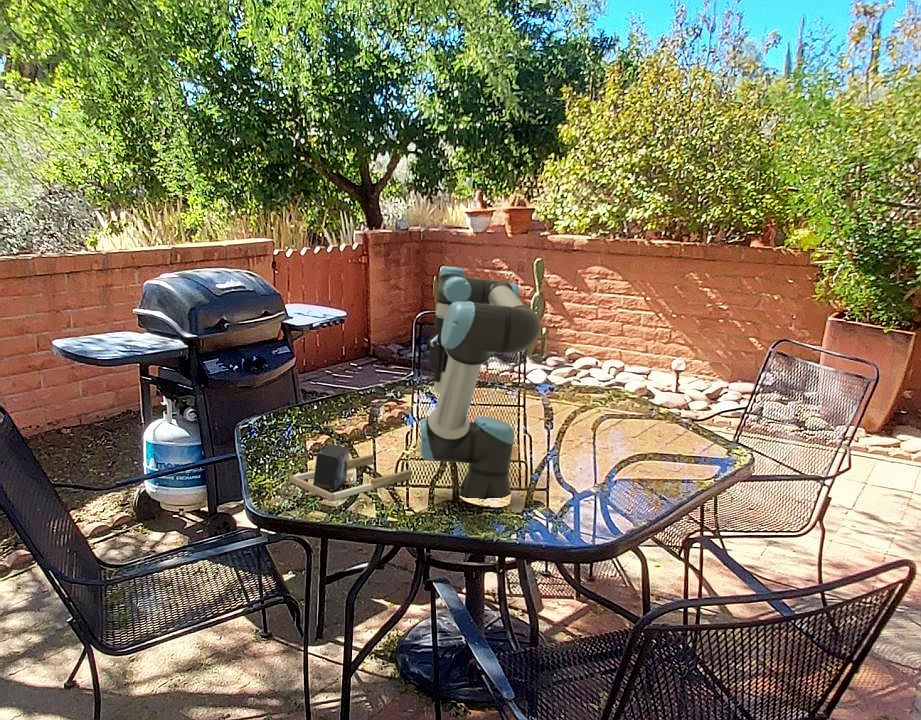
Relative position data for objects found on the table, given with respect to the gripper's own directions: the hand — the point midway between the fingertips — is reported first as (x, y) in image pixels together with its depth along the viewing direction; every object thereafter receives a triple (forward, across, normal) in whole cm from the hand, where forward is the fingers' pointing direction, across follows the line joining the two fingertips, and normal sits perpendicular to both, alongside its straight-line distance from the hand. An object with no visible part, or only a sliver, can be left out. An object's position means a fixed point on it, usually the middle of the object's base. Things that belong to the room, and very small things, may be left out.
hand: (438, 391), depth 233 cm
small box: (+25, +38, -4) cm, 46 cm away
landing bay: (+24, +38, -4) cm, 45 cm away
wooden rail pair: (+24, +22, -4) cm, 33 cm away
